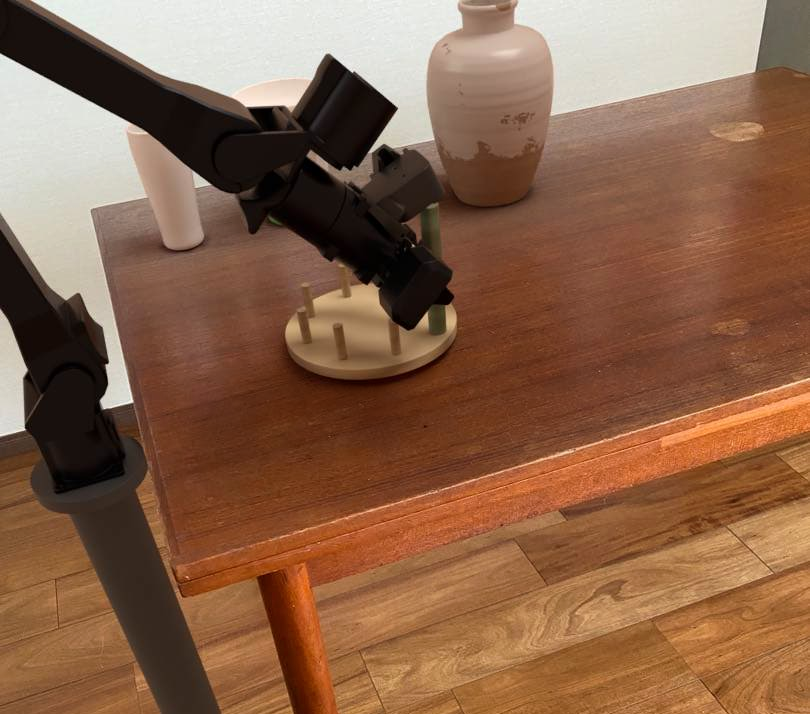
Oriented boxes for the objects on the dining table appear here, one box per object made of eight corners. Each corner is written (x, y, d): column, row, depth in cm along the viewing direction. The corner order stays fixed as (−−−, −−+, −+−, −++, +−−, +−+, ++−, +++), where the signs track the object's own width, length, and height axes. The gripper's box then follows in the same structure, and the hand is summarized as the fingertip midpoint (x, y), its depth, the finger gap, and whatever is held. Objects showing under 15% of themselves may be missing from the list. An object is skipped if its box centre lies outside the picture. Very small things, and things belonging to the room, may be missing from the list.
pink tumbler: (205, 252, 114) (174, 130, 103) (154, 256, 114) (118, 135, 104) (214, 230, 119) (185, 111, 108) (165, 234, 119) (132, 116, 109)
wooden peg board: (420, 390, 84) (407, 248, 74) (256, 367, 90) (224, 232, 80) (480, 300, 96) (475, 168, 86) (331, 285, 102) (311, 159, 92)
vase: (488, 227, 111) (483, 23, 96) (409, 196, 121) (393, 6, 106) (576, 188, 118) (584, -9, 102) (494, 161, 128) (491, -22, 112)
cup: (359, 216, 118) (343, 93, 107) (272, 241, 114) (247, 116, 104) (324, 187, 126) (306, 70, 116) (242, 210, 123) (216, 92, 112)
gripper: (421, 163, 66) (550, 268, 76) (346, 99, 79) (464, 195, 89) (335, 286, 70) (469, 371, 79) (277, 205, 83) (398, 286, 93)
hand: (450, 299), depth 85 cm, fingers closed
